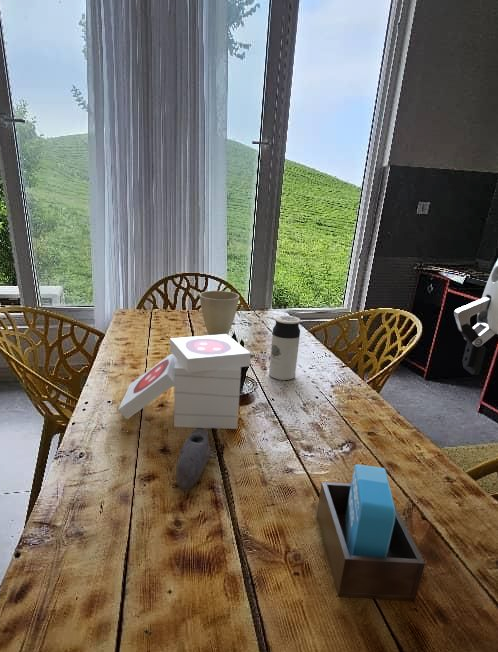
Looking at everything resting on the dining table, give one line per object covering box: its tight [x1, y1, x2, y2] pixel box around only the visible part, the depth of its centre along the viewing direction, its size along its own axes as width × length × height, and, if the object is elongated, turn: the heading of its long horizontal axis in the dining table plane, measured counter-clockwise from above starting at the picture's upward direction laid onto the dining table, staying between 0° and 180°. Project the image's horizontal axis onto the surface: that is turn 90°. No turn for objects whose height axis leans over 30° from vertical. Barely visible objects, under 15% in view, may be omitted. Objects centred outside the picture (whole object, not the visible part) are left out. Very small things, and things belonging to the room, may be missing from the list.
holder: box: [316, 481, 426, 602], centre depth 68 cm, size 11×17×7 cm, turn 178°
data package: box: [345, 463, 396, 557], centre depth 67 cm, size 12×4×12 cm, turn 168°
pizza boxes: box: [117, 334, 252, 430], centre depth 107 cm, size 19×30×18 cm, turn 90°
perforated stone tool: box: [175, 428, 211, 492], centre depth 85 cm, size 15×5×7 cm, turn 167°
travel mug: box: [268, 315, 301, 381], centre depth 133 cm, size 8×8×18 cm
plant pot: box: [199, 290, 240, 335], centre depth 169 cm, size 15×15×16 cm
